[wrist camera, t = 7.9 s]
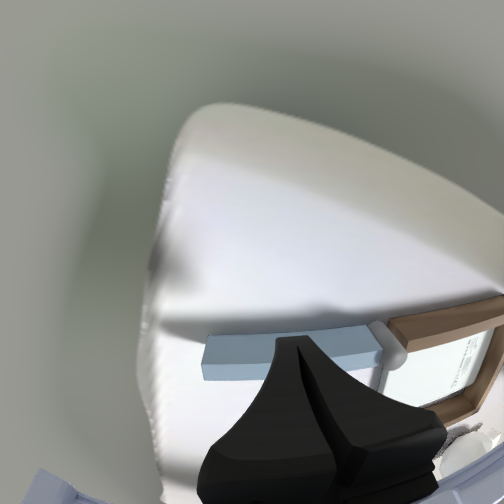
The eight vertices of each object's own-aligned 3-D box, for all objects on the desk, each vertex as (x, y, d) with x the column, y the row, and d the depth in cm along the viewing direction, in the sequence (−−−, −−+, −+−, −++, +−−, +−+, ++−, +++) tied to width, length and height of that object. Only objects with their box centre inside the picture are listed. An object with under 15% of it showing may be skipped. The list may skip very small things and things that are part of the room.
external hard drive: (384, 339, 18) (488, 311, 18) (368, 410, 20) (466, 377, 20) (393, 351, 17) (498, 318, 16) (373, 422, 19) (473, 386, 19)
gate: (386, 319, 17) (410, 346, 13) (383, 338, 17) (404, 368, 14) (207, 332, 17) (199, 367, 13) (210, 353, 17) (203, 388, 14)
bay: (463, 401, 21) (478, 420, 17) (334, 440, 21) (342, 470, 17) (504, 294, 17) (529, 310, 13) (360, 322, 17) (381, 354, 13)
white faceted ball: (421, 479, 23) (472, 446, 25) (453, 507, 14) (504, 465, 16) (434, 440, 24) (484, 406, 25) (474, 468, 15) (522, 423, 16)
